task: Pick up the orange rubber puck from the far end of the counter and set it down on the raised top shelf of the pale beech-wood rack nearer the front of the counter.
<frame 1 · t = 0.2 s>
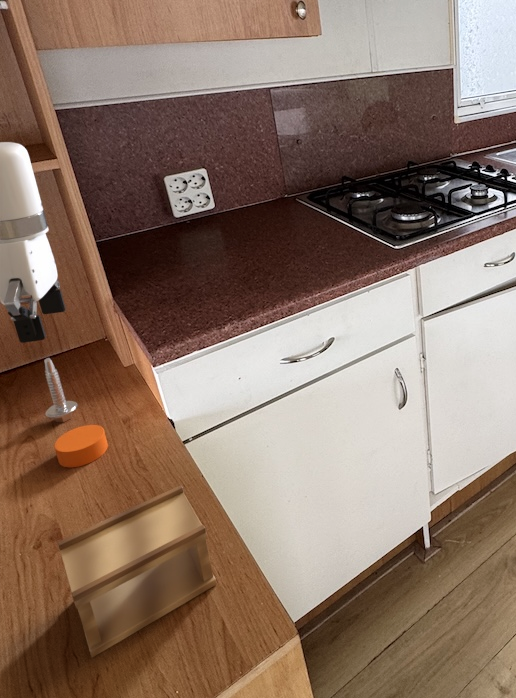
hand: (44, 325, 93), 24 cm above the counter, tool pointing down, fingers open, 9 cm apart
screw: (64, 419, 108), on the counter
puck: (83, 453, 99), on the counter
rack: (147, 592, 75), on the counter
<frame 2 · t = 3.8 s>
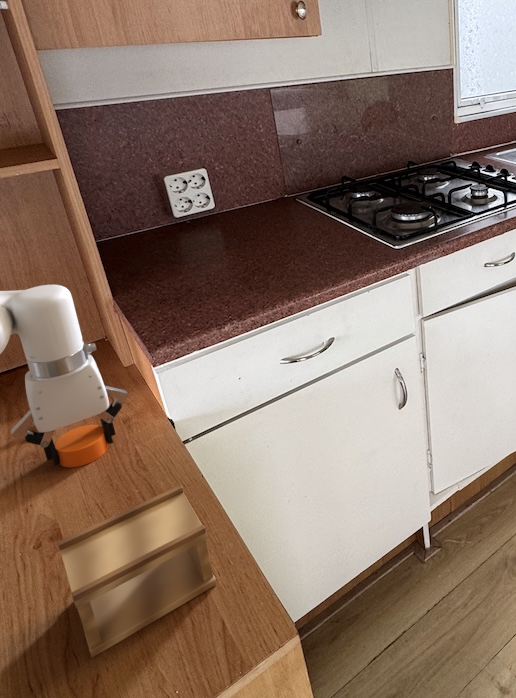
hand: (82, 449, 99), 1 cm above the counter, tool pointing down, fingers closed on puck, 7 cm apart
puck: (84, 453, 99), on the counter, touching gripper
everything else where it was.
when the fingers open (10 cm above the counter, at t = 11.0 s): puck stays where it is, resting on rack.
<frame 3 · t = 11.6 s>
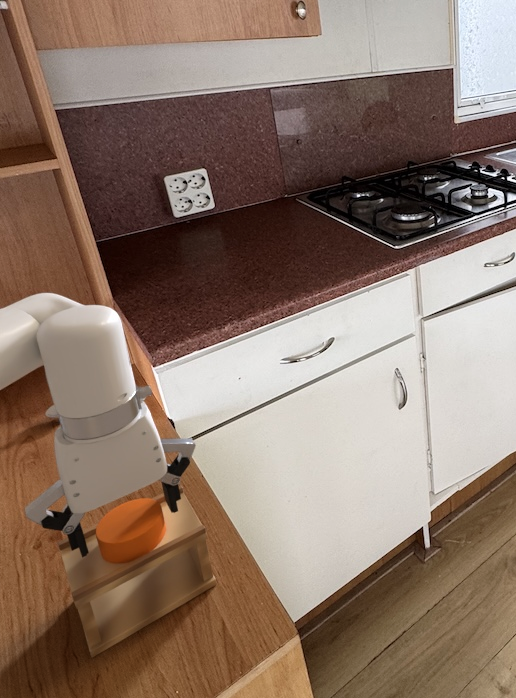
hand: (129, 526, 72), 11 cm above the counter, tool pointing down, fingers open, 9 cm apart
puck: (134, 539, 72), point 9 cm above the counter, touching rack
everything else where it was.
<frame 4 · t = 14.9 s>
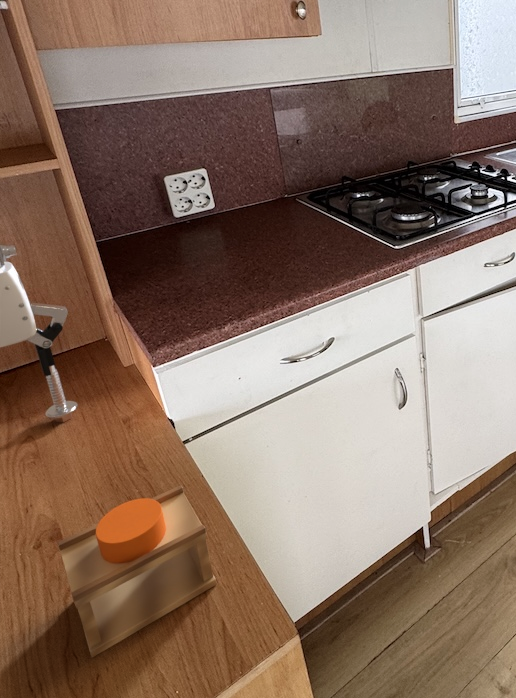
hand: (0, 385, 75), 25 cm above the counter, tool pointing down, fingers open, 9 cm apart
nothing on the counter moved.
at the end: puck inside the target area on the rack (0.0 cm from its centre), point 9.0 cm above the rack's base; puck tilted 0°; the gripper is holding nothing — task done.
